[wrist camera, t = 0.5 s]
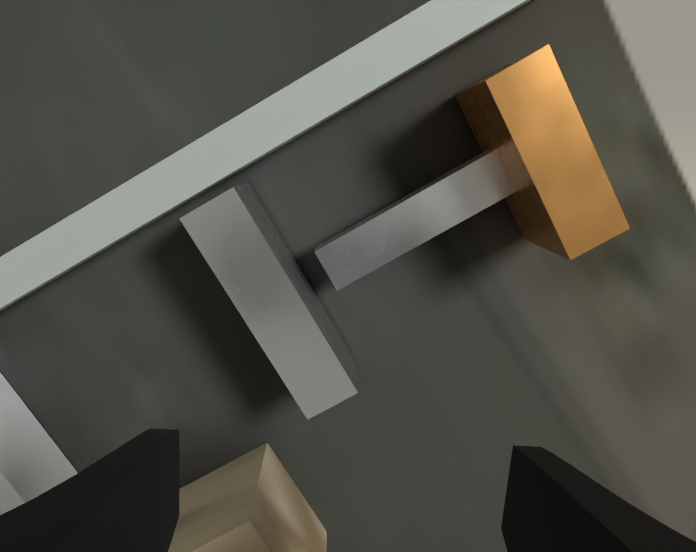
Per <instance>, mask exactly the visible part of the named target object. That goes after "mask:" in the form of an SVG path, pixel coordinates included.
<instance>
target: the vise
mask: <svg viewBox="0 0 696 552" xmlns="http://www.w3.org/2000/svg"><path fill="white" fill-rule="evenodd" d="M529 1H531V0H431V1H429V2H428V3H426V4H424V5H423V6H421V7H419V8H418V9H416V10H414V11H412V12H411V13H409V14H407V15H406V16H404V17H402V18H401V19H399V20H397V21H396V22H394V23H392V24H391V25H389V26H387V27H386V28H384V29H382V30H381V31H379V32H377V33H376V34H374V35H372V36H371V37H369V38H367V39H365V40H364V41H362V42H360V43H359V44H357V45H355V46H354V47H352V48H350V49H349V50H347V51H345V52H344V53H342V54H340V55H339V56H337V57H335V58H334V59H332V60H330V61H329V62H327V63H325V64H324V65H322V66H320V67H318V68H317V69H315V70H313V71H312V72H310V73H308V74H307V75H305V76H303V77H302V78H300V79H298V80H297V81H295V82H293V83H292V84H290V85H288V86H287V87H285V88H283V89H282V90H280V91H278V92H276V93H275V94H273V95H271V96H270V97H268V98H266V99H265V100H263V101H261V102H260V103H258V104H256V105H255V106H253V107H251V108H250V109H248V110H246V111H245V112H243V113H241V114H240V115H238V116H236V117H235V118H233V119H231V120H229V121H228V122H226V123H224V124H223V125H221V126H219V127H218V128H216V129H214V130H213V131H211V132H209V133H208V134H206V135H204V136H203V137H201V138H199V139H198V140H196V141H194V142H193V143H191V144H189V145H188V146H186V147H184V148H182V149H181V150H179V151H177V152H176V153H174V154H172V155H171V156H169V157H167V158H166V159H164V160H162V161H161V162H159V163H157V164H156V165H154V166H152V167H151V168H149V169H147V170H146V171H144V172H142V173H141V174H139V175H137V176H135V177H134V178H132V179H130V180H129V181H127V182H125V183H124V184H122V185H120V186H119V187H117V188H115V189H114V190H112V191H110V192H109V193H107V194H105V195H104V196H102V197H100V198H99V199H97V200H95V201H94V202H92V203H90V204H88V205H87V206H85V207H83V208H82V209H80V210H78V211H77V212H75V213H73V214H72V215H70V216H68V217H67V218H65V219H63V220H62V221H60V222H58V223H57V224H55V225H53V226H52V227H50V228H48V229H47V230H45V231H43V232H41V233H40V234H38V235H36V236H35V237H33V238H31V239H30V240H28V241H26V242H25V243H23V244H21V245H20V246H18V247H16V248H15V249H13V250H11V251H10V252H8V253H6V254H5V255H3V256H1V257H0V311H1V310H3V309H5V308H6V307H8V306H10V305H11V304H13V303H15V302H17V301H18V300H20V299H22V298H23V297H25V296H27V295H29V294H30V293H32V292H34V291H35V290H37V289H39V288H41V287H42V286H44V285H46V284H47V283H49V282H51V281H52V280H54V279H56V278H58V277H59V276H61V275H63V274H64V273H66V272H68V271H70V270H71V269H73V268H75V267H76V266H78V265H80V264H82V263H83V262H85V261H87V260H88V259H90V258H92V257H94V256H95V255H97V254H99V253H100V252H102V251H104V250H105V249H107V248H109V247H111V246H112V245H114V244H116V243H117V242H119V241H121V240H123V239H124V238H126V237H128V236H129V235H131V234H133V233H135V232H136V231H138V230H140V229H141V228H143V227H145V226H146V225H148V224H150V223H152V222H153V221H155V220H157V219H158V218H160V217H162V216H164V215H165V214H167V213H169V212H170V211H172V210H174V209H176V208H177V207H179V206H181V205H182V204H184V203H186V202H187V201H189V200H191V199H193V198H194V197H196V196H198V195H199V194H201V193H203V192H205V191H206V190H208V189H210V188H211V187H213V186H215V185H217V184H218V183H220V182H222V181H223V180H225V179H227V178H229V177H230V176H232V175H234V174H235V173H237V172H239V171H240V170H242V169H244V168H246V167H247V166H249V165H251V164H252V163H254V162H256V161H258V160H259V159H261V158H263V157H264V156H266V155H268V154H270V153H271V152H273V151H275V150H276V149H278V148H280V147H281V146H283V145H285V144H287V143H288V142H290V141H292V140H293V139H295V138H297V137H299V136H300V135H302V134H304V133H305V132H307V131H309V130H311V129H312V128H314V127H316V126H317V125H319V124H321V123H322V122H324V121H326V120H328V119H329V118H331V117H333V116H334V115H336V114H338V113H340V112H341V111H343V110H345V109H346V108H348V107H350V106H352V105H353V104H355V103H357V102H358V101H360V100H362V99H364V98H365V97H367V96H369V95H370V94H372V93H374V92H375V91H377V90H379V89H381V88H382V87H384V86H386V85H387V84H389V83H391V82H393V81H394V80H396V79H398V78H399V77H401V76H403V75H405V74H406V73H408V72H410V71H411V70H413V69H415V68H416V67H418V66H420V65H422V64H423V63H425V62H427V61H428V60H430V59H432V58H434V57H435V56H437V55H439V54H440V53H442V52H444V51H446V50H447V49H449V48H451V47H452V46H454V45H456V44H457V43H459V42H461V41H463V40H464V39H466V38H468V37H469V36H471V35H473V34H475V33H476V32H478V31H480V30H481V29H483V28H485V27H487V26H488V25H490V24H492V23H493V22H495V21H497V20H499V19H500V18H502V17H504V16H505V15H507V14H509V13H510V12H512V11H514V10H516V9H517V8H519V7H521V6H522V5H524V4H526V3H528V2H529ZM76 474H78V473H77V471H76V470H75V469H74V467H73V466H72V465H71V463H70V462H69V461H68V460H67V458H66V457H65V456H64V454H63V453H62V452H61V451H60V449H59V448H58V447H57V445H56V444H55V443H54V441H53V440H52V439H51V438H50V436H49V435H48V434H47V432H46V431H45V430H44V428H43V427H42V426H41V425H40V423H39V422H38V421H37V419H36V418H35V417H34V415H33V414H32V413H31V412H30V410H29V409H28V408H27V406H26V405H25V404H24V403H23V401H22V400H21V399H20V397H19V396H18V395H17V393H16V392H15V391H14V390H13V388H12V387H11V386H10V384H9V383H8V382H7V380H6V379H5V378H4V377H3V375H2V374H1V373H0V515H1V514H4V513H6V512H8V511H10V510H12V509H14V508H16V507H18V506H20V505H22V504H24V503H26V502H28V501H30V500H32V499H34V498H35V497H37V496H39V495H41V494H43V493H44V492H46V491H48V490H50V489H51V488H53V487H55V486H57V485H58V484H60V483H62V482H64V481H65V480H67V479H69V478H71V477H72V476H74V475H76Z"/></svg>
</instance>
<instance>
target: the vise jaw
mask: <svg viewBox="0 0 696 552" xmlns="http://www.w3.org/2000/svg"><path fill="white" fill-rule="evenodd" d="M455 97H456V99H457V101H458V103H459V105H460V107H461V109H462V112H463V114H464V116H465V118H466V120H467V122H468V124H469V126H470V128H471V130H472V132H473V134H474V136H475V138H476V140H477V142H478V144H479V146H480V148H481V150H482V152H483V153H481V154H479V155H477V156H475V157H474V158H472V159H470V160H468V161H467V162H465V163H463V164H461V165H460V166H458V167H456V168H454V169H452V170H451V171H449V172H447V173H445V174H444V175H442V176H440V177H438V178H436V179H435V180H433V181H431V182H429V183H428V184H426V185H424V186H422V187H420V188H419V189H417V190H415V191H413V192H412V193H410V194H408V195H406V196H404V197H403V198H401V199H399V200H397V201H396V202H394V203H392V204H390V205H388V206H387V207H385V208H383V209H381V210H380V211H378V212H376V213H374V214H373V215H371V216H369V217H367V218H365V219H364V220H362V221H360V222H358V223H357V224H355V225H353V226H351V227H349V228H348V229H346V230H344V231H342V232H341V233H339V234H337V235H335V236H333V237H332V238H330V239H328V240H326V241H325V242H323V243H321V244H319V245H317V246H316V247H315V250H314V252H315V254H316V256H317V258H318V259H319V261H320V263H321V264H322V266H323V268H324V269H325V271H326V273H327V275H328V276H329V278H330V280H331V281H332V283H333V285H334V286H335V288H336V290H339V289H341V288H343V287H345V286H346V285H348V284H350V283H352V282H354V281H355V280H357V279H359V278H361V277H363V276H364V275H366V274H368V273H370V272H372V271H374V270H375V269H377V268H379V267H381V266H383V265H384V264H386V263H388V262H390V261H392V260H393V259H395V258H397V257H399V256H401V255H402V254H404V253H406V252H408V251H410V250H411V249H413V248H415V247H417V246H419V245H421V244H422V243H424V242H426V241H428V240H430V239H431V238H433V237H435V236H437V235H439V234H440V233H442V232H444V231H446V230H448V229H449V228H451V227H453V226H455V225H457V224H458V223H460V222H462V221H464V220H466V219H468V218H469V217H471V216H473V215H475V214H477V213H478V212H480V211H482V210H484V209H486V208H487V207H489V206H491V205H493V204H495V203H496V202H498V201H500V200H502V199H504V198H505V199H506V201H507V203H508V205H509V207H510V210H511V212H512V214H513V216H514V218H515V220H516V222H517V224H518V226H519V228H520V230H521V232H522V234H523V236H524V238H525V240H527V241H529V242H532V243H534V244H536V245H538V246H540V247H543V248H545V249H547V250H549V251H551V252H554V253H556V254H558V255H560V256H562V257H565V258H567V259H569V260H572V259H574V258H575V257H577V256H579V255H581V254H583V253H585V252H587V251H588V250H590V249H592V248H594V247H596V246H598V245H600V244H602V243H603V242H605V241H607V240H609V239H611V238H613V237H615V236H616V235H618V234H620V233H622V232H624V231H626V230H628V229H630V227H629V225H628V223H627V221H626V218H625V216H624V214H623V212H622V209H621V207H620V205H619V202H618V200H617V198H616V196H615V193H614V191H613V189H612V187H611V184H610V182H609V180H608V178H607V175H606V173H605V171H604V168H603V166H602V164H601V162H600V159H599V157H598V155H597V153H596V150H595V148H594V146H593V143H592V141H591V139H590V137H589V134H588V132H587V130H586V128H585V125H584V123H583V121H582V119H581V116H580V114H579V112H578V109H577V107H576V105H575V103H574V100H573V98H572V96H571V94H570V91H569V89H568V87H567V84H566V82H565V80H564V78H563V75H562V73H561V71H560V69H559V66H558V64H557V62H556V60H555V57H554V55H553V53H552V50H551V48H550V46H549V44H548V45H546V46H544V47H542V48H540V49H538V50H536V51H534V52H532V53H530V54H528V55H526V56H524V57H522V58H520V59H518V60H516V61H514V62H512V63H510V64H508V65H506V66H504V67H502V68H501V69H499V70H497V71H495V72H494V73H492V74H490V75H488V76H487V77H485V78H483V79H481V80H480V81H478V82H476V83H475V84H473V85H471V86H469V87H468V88H466V89H464V90H462V91H461V92H459V93H457V94H455ZM180 221H181V222H182V224H183V225H184V227H185V229H186V230H187V232H188V233H189V235H190V236H191V238H192V239H193V241H194V243H195V244H196V246H197V247H198V249H199V250H200V252H201V254H202V255H203V257H204V258H205V260H206V261H207V263H208V265H209V266H210V268H211V269H212V271H213V272H214V274H215V275H216V277H217V279H218V280H219V282H220V283H221V285H222V286H223V288H224V290H225V291H226V293H227V294H228V296H229V297H230V299H231V300H232V302H233V304H234V305H235V307H236V308H237V310H238V311H239V313H240V315H241V316H242V318H243V319H244V321H245V322H246V324H247V326H248V327H249V329H250V330H251V332H252V333H253V335H254V336H255V338H256V340H257V341H258V343H259V344H260V346H261V347H262V349H263V351H264V352H265V354H266V355H267V357H268V358H269V360H270V362H271V363H272V365H273V366H274V368H275V369H276V371H277V372H278V374H279V376H280V377H281V379H282V380H283V382H284V383H285V385H286V387H287V388H288V390H289V391H290V393H291V394H292V396H293V398H294V399H295V401H296V402H297V404H298V405H299V407H300V408H301V410H302V412H303V413H304V415H305V416H306V418H307V419H310V418H312V417H313V416H315V415H317V414H319V413H321V412H323V411H325V410H327V409H328V408H330V407H332V406H334V405H336V404H338V403H340V402H342V401H343V400H345V399H347V398H349V397H351V396H353V395H355V394H357V393H358V387H357V378H356V369H355V360H354V358H353V356H352V355H351V353H350V351H349V350H348V348H347V346H346V345H345V343H344V341H343V340H342V338H341V336H340V335H339V333H338V331H337V330H336V328H335V326H334V325H333V323H332V321H331V320H330V318H329V316H328V315H327V313H326V311H325V310H324V308H323V306H322V305H321V303H320V301H319V300H318V298H317V296H316V295H315V293H314V291H313V290H312V288H311V286H310V285H309V283H308V281H307V280H306V278H305V276H304V275H303V273H302V271H301V270H300V268H299V266H298V265H297V263H296V261H295V260H294V258H293V256H292V255H291V253H290V251H289V250H288V248H287V246H286V245H285V243H284V241H283V240H282V238H281V236H280V235H279V233H278V231H277V230H276V228H275V226H274V224H273V223H272V221H271V219H270V218H269V216H268V214H267V213H266V211H265V209H264V208H263V206H262V204H261V203H260V201H259V199H258V198H257V196H256V194H255V193H254V191H253V189H252V188H251V186H250V184H249V183H248V182H246V183H244V184H241V185H238V186H235V187H233V188H231V189H229V190H228V191H226V192H224V193H222V194H221V195H219V196H217V197H216V198H214V199H212V200H210V201H209V202H207V203H205V204H204V205H202V206H200V207H198V208H197V209H195V210H193V211H192V212H190V213H188V214H186V215H185V216H183V217H181V218H180Z"/></svg>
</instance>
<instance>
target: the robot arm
mask: <svg viewBox="0 0 696 552" xmlns="http://www.w3.org/2000/svg"><path fill="white" fill-rule="evenodd" d="M178 518H179V430H170V429H149V430H147V431H145V432H143V433H141V434H140V435H138V436H136V437H135V438H133V439H132V440H130V441H128V442H127V443H125V444H124V445H122V446H121V447H119V448H117V449H116V450H114V451H113V452H111V453H110V454H108V455H106V456H105V457H103V458H102V459H100V460H99V461H97V462H95V463H94V464H92V465H91V466H89V467H87V468H86V469H84V470H83V471H81V472H79V473H78V474H76V475H74V476H72V477H71V478H69V479H67V480H65V481H64V482H62V483H60V484H58V485H57V486H55V487H53V488H51V489H50V490H48V491H46V492H44V493H43V494H41V495H39V496H37V497H35V498H34V499H32V500H30V501H28V502H26V503H24V504H22V505H20V506H18V507H16V508H14V509H12V510H10V511H8V512H6V513H4V514H1V515H0V552H168V550H169V547H170V544H171V541H172V538H173V535H174V531H175V528H176V525H177V521H178ZM501 529H502V533H503V537H504V540H505V544H506V547H507V551H508V552H696V542H695V541H693V540H691V539H689V538H687V537H685V536H684V535H682V534H680V533H678V532H676V531H674V530H673V529H671V528H669V527H667V526H666V525H664V524H662V523H661V522H659V521H657V520H656V519H654V518H652V517H651V516H649V515H647V514H646V513H644V512H642V511H641V510H639V509H637V508H636V507H634V506H633V505H631V504H629V503H628V502H626V501H625V500H623V499H621V498H620V497H618V496H617V495H615V494H614V493H612V492H611V491H609V490H608V489H606V488H605V487H603V486H602V485H600V484H599V483H597V482H596V481H594V480H593V479H591V478H589V477H588V476H587V475H585V474H584V473H582V472H581V471H579V470H578V469H576V468H575V467H573V466H572V465H570V464H569V463H567V462H565V461H564V460H562V459H561V458H559V457H558V456H556V455H554V454H553V453H551V452H549V451H548V450H546V449H544V448H542V447H531V446H513V450H512V457H511V464H510V471H509V478H508V484H507V491H506V498H505V505H504V512H503V519H502V526H501Z"/></svg>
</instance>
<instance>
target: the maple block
mask: <svg viewBox="0 0 696 552" xmlns="http://www.w3.org/2000/svg"><path fill="white" fill-rule="evenodd" d="M168 552H327V532H326V530H325V529H324V527H323V526H322V524H321V523H320V521H319V520H318V518H317V517H316V515H315V514H314V512H313V511H312V509H311V508H310V506H309V505H308V503H307V502H306V500H305V499H304V497H303V496H302V494H301V493H300V491H299V490H298V488H297V487H296V485H295V484H294V482H293V480H292V479H291V477H290V476H289V474H288V473H287V471H286V470H285V468H284V467H283V465H282V464H281V462H280V461H279V459H278V458H277V456H276V455H275V453H274V452H273V450H272V449H271V447H270V446H269V444H268V443H265V444H263V445H261V446H259V447H258V448H256V449H254V450H252V451H250V452H248V453H246V454H244V455H243V456H241V457H239V458H237V459H235V460H233V461H231V462H229V463H227V464H226V465H224V466H222V467H220V468H218V469H216V470H214V471H212V472H211V473H209V474H207V475H205V476H203V477H201V478H199V479H197V480H196V481H194V482H192V483H190V484H188V485H186V486H184V487H182V488H181V489H179V518H178V521H177V525H176V528H175V531H174V535H173V538H172V541H171V544H170V547H169V550H168Z"/></svg>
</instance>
